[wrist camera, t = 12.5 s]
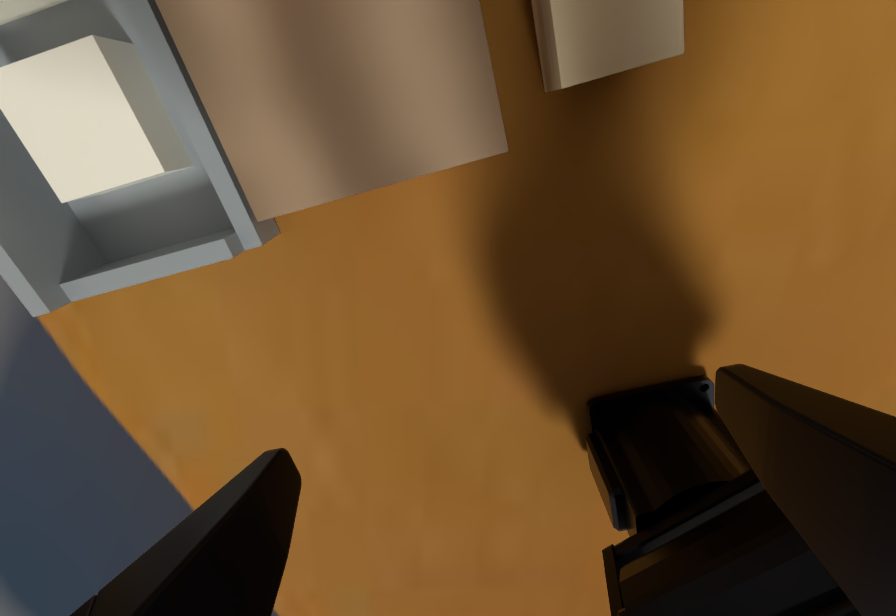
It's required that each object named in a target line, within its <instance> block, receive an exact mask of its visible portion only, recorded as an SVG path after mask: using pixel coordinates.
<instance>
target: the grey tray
mask: <svg viewBox="0 0 896 616" xmlns="http://www.w3.org/2000/svg"><path fill="white" fill-rule="evenodd" d="M90 35H95V36H100V37H104V38H109V39H113V40H118V41H122V42H127V43H131V44H134V46H135V48H136V50H137V52H138V54H139V56H140V58H141V60H142V62H143V64H144V66H145V68H146V70H147V72H148V74H149V76H150V78H151V80H152V82H153V84H154V86H155V88H156V90H157V92H158V94H159V96H160V98H161V100H162V102H163V104H164V106H165V108H166V110H167V112H168V114H169V116H170V118H171V120H172V122H173V124H174V126H175V128H176V130H177V132H178V134H179V136H180V138H181V140H182V142H183V144H184V146H185V148H186V150H187V152H188V154H189V156H190V158H191V160H192V162H193V164H194V166H192V167H189V168H186V169H183V170H179V171H176V172H173V173H169V174H166V175H163V176H160V177H156V178H153V179H150V180H146V181H143V182H140V183H136V184H133V185H130V186H127V187H123V188H120V189H117V190H113V191H110V192H107V193H104V194H100V195H96V196H91V197H87V198H83V199H78V200H74V201H70V202H65V203H61V201H60V200H59V198H58V197H57V195H56V194H55V192H54V191H53V189H52V188H51V186H50V185H49V183H48V181H47V180H46V178H45V177H44V175H43V174H42V172H41V171H40V169H39V168H38V166H37V165H36V163H35V161H34V160H33V158H32V157H31V155H30V154H29V152H28V151H27V149H26V148H25V146H24V145H23V143H22V141H21V140H20V138H19V137H18V135H17V134H16V132H15V131H14V129H13V128H12V126H11V125H10V123H9V121H8V120H7V118H6V117H5V115H4V114H3V112H2V111H1V109H0V275H1V276H2V277H3V278H4V280H5V281H6V282H7V284H8V285H9V286H10V288H11V289H12V290H13V291H14V293H15V294H16V295H17V297H18V298H19V299H20V301H21V302H22V303H23V305H24V306H25V307H26V308H27V310H28V311H29V312H30V314H31V315H32V316H33V317H35V316H39V315H42V314H46V313H50V312H52V311H54V310H56V309H58V308H60V307H62V306H64V305H66V304H68V303H70V302H73V301H77V300H80V299H84V298H88V297H91V296H95V295H99V294H102V293H106V292H110V291H113V290H117V289H121V288H124V287H128V286H132V285H135V284H139V283H143V282H146V281H150V280H154V279H157V278H161V277H165V276H168V275H172V274H176V273H179V272H183V271H187V270H190V269H194V268H198V267H201V266H205V265H209V264H213V263H216V262H220V261H224V260H227V259H231V258H234V257H235V256H237V255H238V254H240V253H241V252H243V251H244V250H248V249H251V248H255V247H259V246H262V245H264V244H265V243H267V242H268V241H270V240H271V239H272V238H274V237H275V236H277V235H278V234H280V231H279V229H278V226H277V224H276V222H275V220H274V217H273V218H270V219H266V220H263V221H259V222H257V219H256V217H255V215H254V213H253V211H252V209H251V206H250V204H249V202H248V200H247V198H246V196H245V193H244V191H243V189H242V187H241V185H240V183H239V181H238V178H237V176H236V174H235V172H234V170H233V168H232V165H231V163H230V161H229V159H228V157H227V155H226V153H225V150H224V148H223V146H222V144H221V142H220V140H219V137H218V135H217V133H216V131H215V129H214V127H213V124H212V122H211V120H210V118H209V116H208V114H207V112H206V109H205V107H204V105H203V103H202V101H201V99H200V96H199V94H198V92H197V90H196V88H195V86H194V84H193V81H192V79H191V77H190V75H189V73H188V71H187V68H186V66H185V64H184V62H183V60H182V58H181V55H180V53H179V51H178V49H177V47H176V45H175V43H174V40H173V38H172V36H171V34H170V32H169V30H168V27H167V25H166V23H165V21H164V19H163V17H162V15H161V12H160V10H159V8H158V6H157V4H156V2H155V0H69V1H66V2H63V3H60V4H58V5H55V6H52V7H49V8H47V9H44V10H41V11H38V12H36V13H33V14H30V15H27V16H25V17H22V18H19V19H17V20H14V21H11V22H8V23H6V24H3V25H0V67H3V66H6V65H9V64H11V63H14V62H17V61H20V60H23V59H25V58H28V57H31V56H34V55H37V54H40V53H42V52H45V51H48V50H51V49H54V48H56V47H59V46H62V45H65V44H68V43H71V42H73V41H76V40H79V39H82V38H85V37H88V36H90Z"/></svg>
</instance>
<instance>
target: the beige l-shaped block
mask: <svg viewBox="0 0 896 616" xmlns="http://www.w3.org/2000/svg"><path fill="white" fill-rule="evenodd" d="M531 3H532V9H533V16H534V23H535V30H536V36H537V43H538V50H539V56H540V63H541V70H542V77H543V83H544V90H545V93H546V92H550V91H555V90H559V89H563V88H567V87H570V86H574V85H577V84H581V83H584V82H587V81H591V80H594V79H598V78H601V77H605V76H608V75H612V74H615V73H618V72H622V71H625V70H629V69H632V68H636V67H639V66H643V65H646V64H649V63H653V62H656V61H660V60H663V59H667V58H670V57H674V56H677V55H681V54H684V20H683V0H531Z"/></svg>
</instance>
